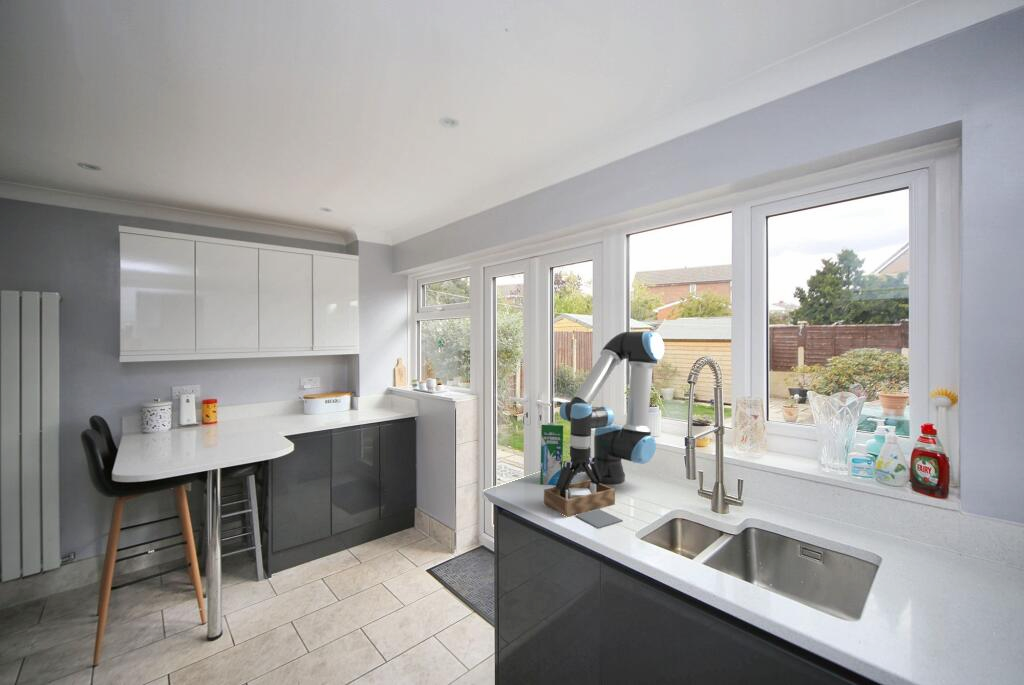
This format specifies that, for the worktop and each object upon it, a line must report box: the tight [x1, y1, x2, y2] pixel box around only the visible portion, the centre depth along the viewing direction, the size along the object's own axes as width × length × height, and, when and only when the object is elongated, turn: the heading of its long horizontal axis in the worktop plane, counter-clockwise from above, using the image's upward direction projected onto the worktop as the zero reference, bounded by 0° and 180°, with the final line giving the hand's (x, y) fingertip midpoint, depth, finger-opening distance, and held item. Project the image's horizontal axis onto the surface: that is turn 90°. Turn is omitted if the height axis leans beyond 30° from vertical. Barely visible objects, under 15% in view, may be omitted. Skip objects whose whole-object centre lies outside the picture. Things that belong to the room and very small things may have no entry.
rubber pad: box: [575, 508, 623, 529], centre depth 144 cm, size 11×11×1 cm
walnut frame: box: [543, 479, 616, 518], centre depth 157 cm, size 23×13×6 cm, turn 123°
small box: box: [568, 488, 591, 499], centre depth 156 cm, size 8×8×5 cm
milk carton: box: [539, 422, 564, 486], centre depth 182 cm, size 9×9×25 cm
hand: (578, 504), depth 156 cm, fingers open, 13 cm apart
